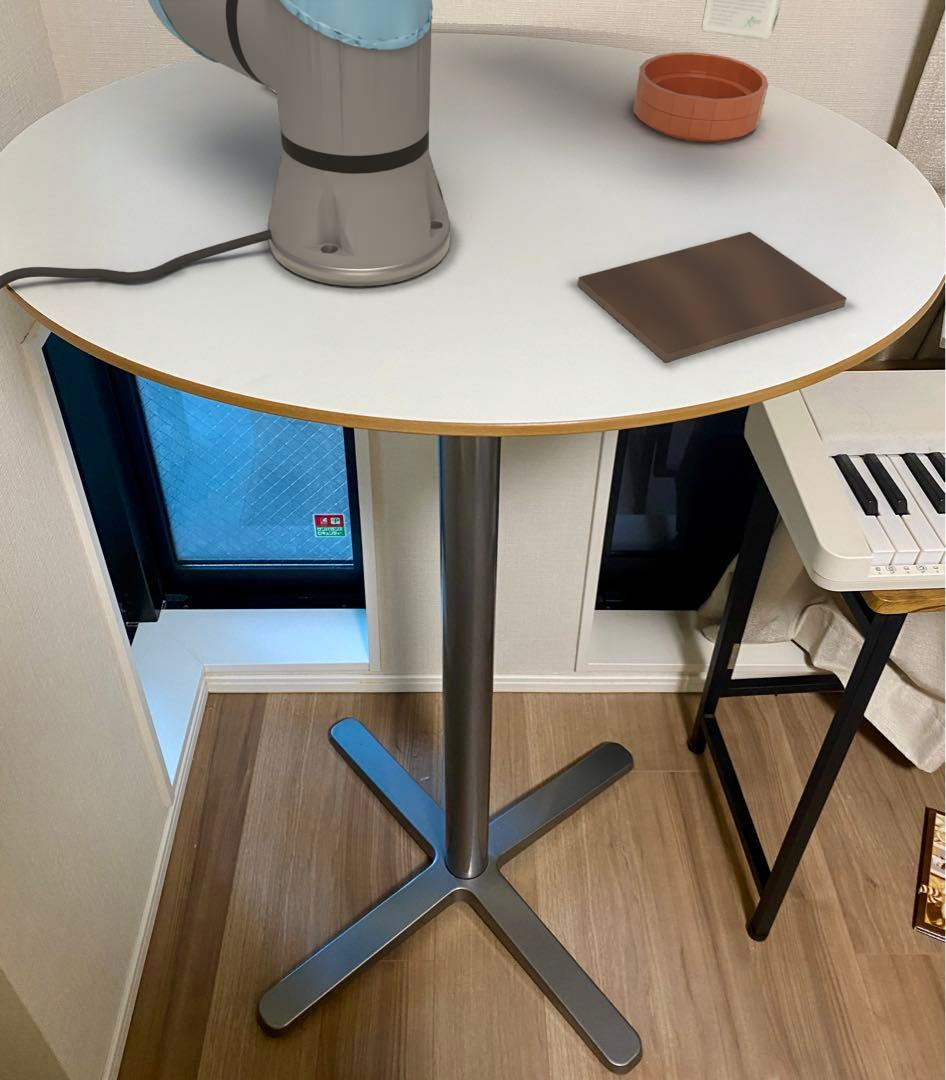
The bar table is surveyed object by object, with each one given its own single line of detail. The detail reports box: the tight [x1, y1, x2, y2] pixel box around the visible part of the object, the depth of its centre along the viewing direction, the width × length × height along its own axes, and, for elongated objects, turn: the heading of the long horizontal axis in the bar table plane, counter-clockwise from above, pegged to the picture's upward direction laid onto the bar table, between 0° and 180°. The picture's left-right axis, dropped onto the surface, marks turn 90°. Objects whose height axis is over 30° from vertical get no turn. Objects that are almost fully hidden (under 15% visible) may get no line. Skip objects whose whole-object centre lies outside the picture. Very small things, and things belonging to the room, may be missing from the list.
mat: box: [577, 231, 847, 363], centre depth 80 cm, size 18×12×1 cm, turn 119°
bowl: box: [633, 51, 769, 143], centre depth 104 cm, size 13×13×4 cm
